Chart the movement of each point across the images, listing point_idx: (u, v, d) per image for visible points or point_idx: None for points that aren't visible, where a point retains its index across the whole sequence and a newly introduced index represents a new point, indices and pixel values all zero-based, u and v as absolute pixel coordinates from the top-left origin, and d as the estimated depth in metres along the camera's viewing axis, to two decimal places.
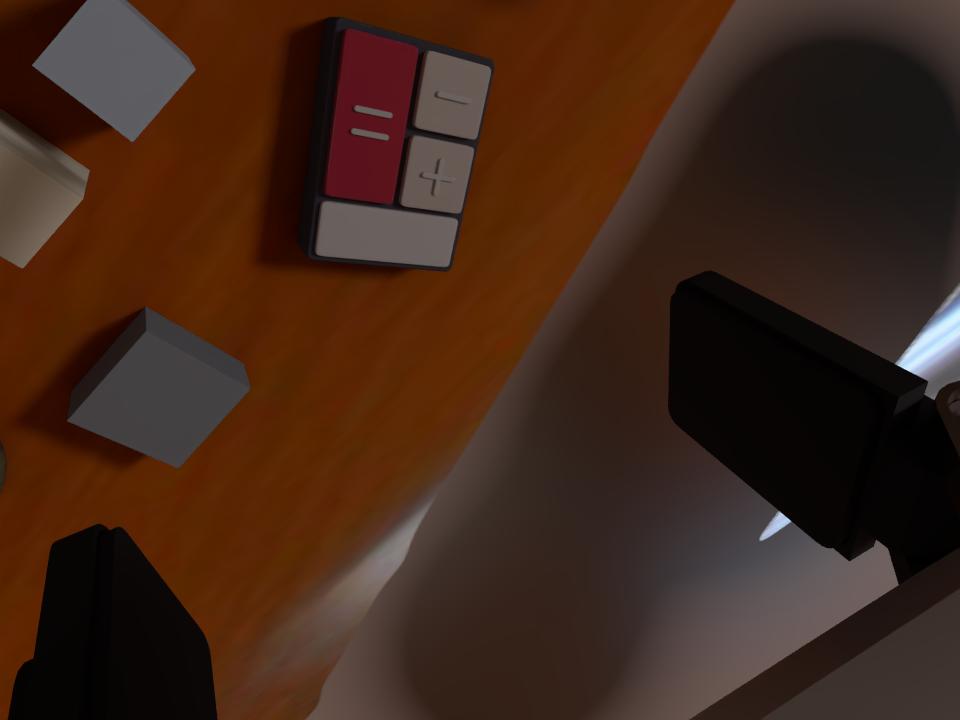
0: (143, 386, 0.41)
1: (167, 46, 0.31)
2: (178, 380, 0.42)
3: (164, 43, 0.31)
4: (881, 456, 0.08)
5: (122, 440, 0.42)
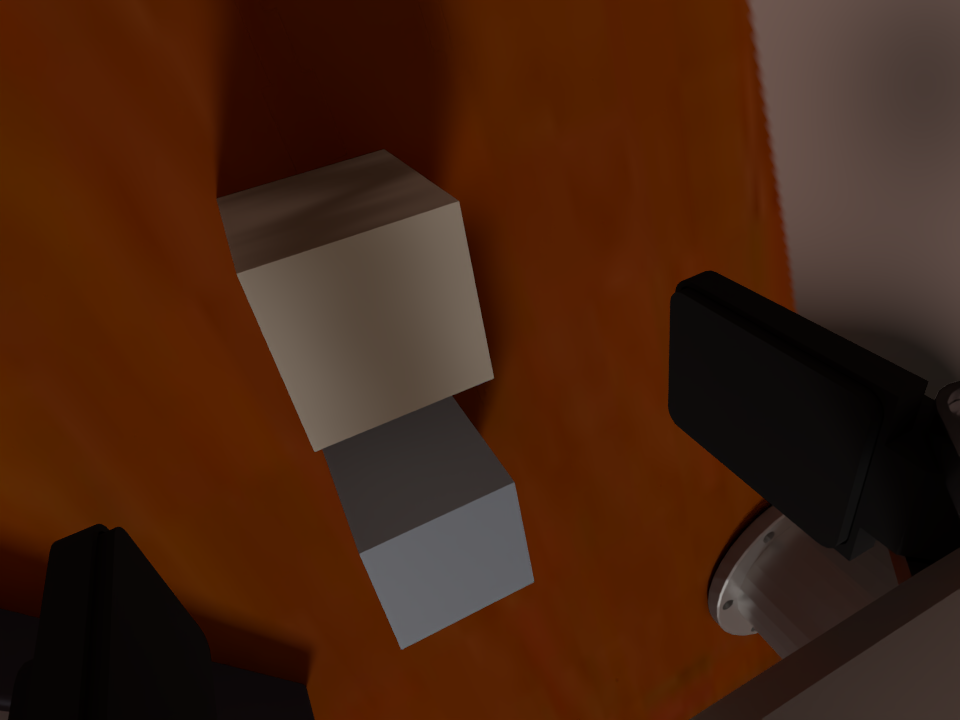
0: None
1: (443, 626, 0.21)
2: None
3: (447, 624, 0.21)
4: (881, 456, 0.08)
5: None
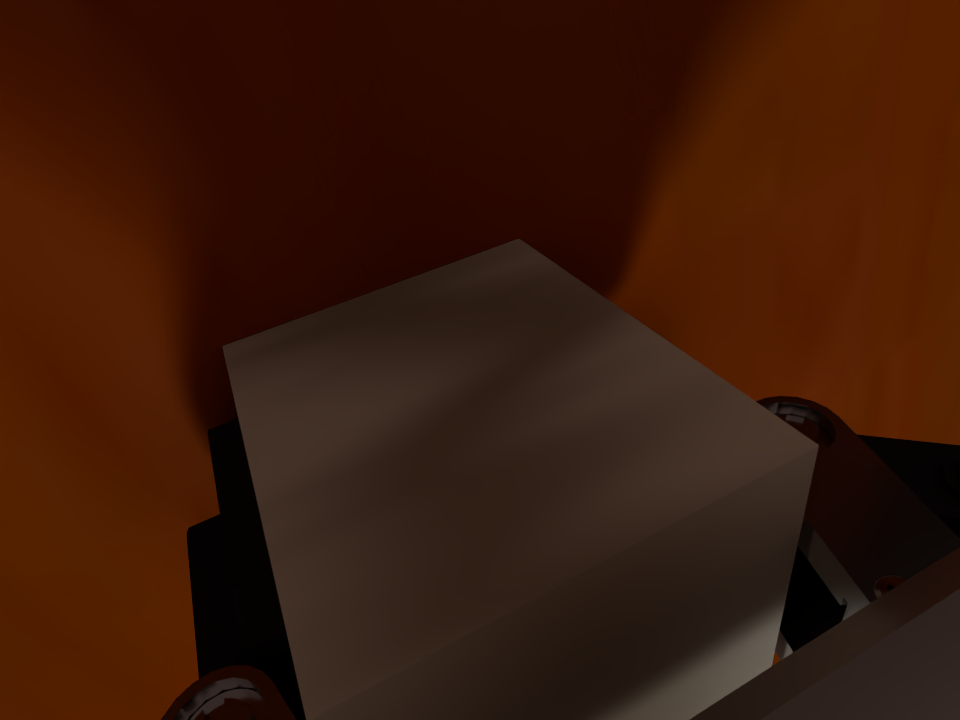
0: None
1: None
2: None
3: None
4: None
5: None
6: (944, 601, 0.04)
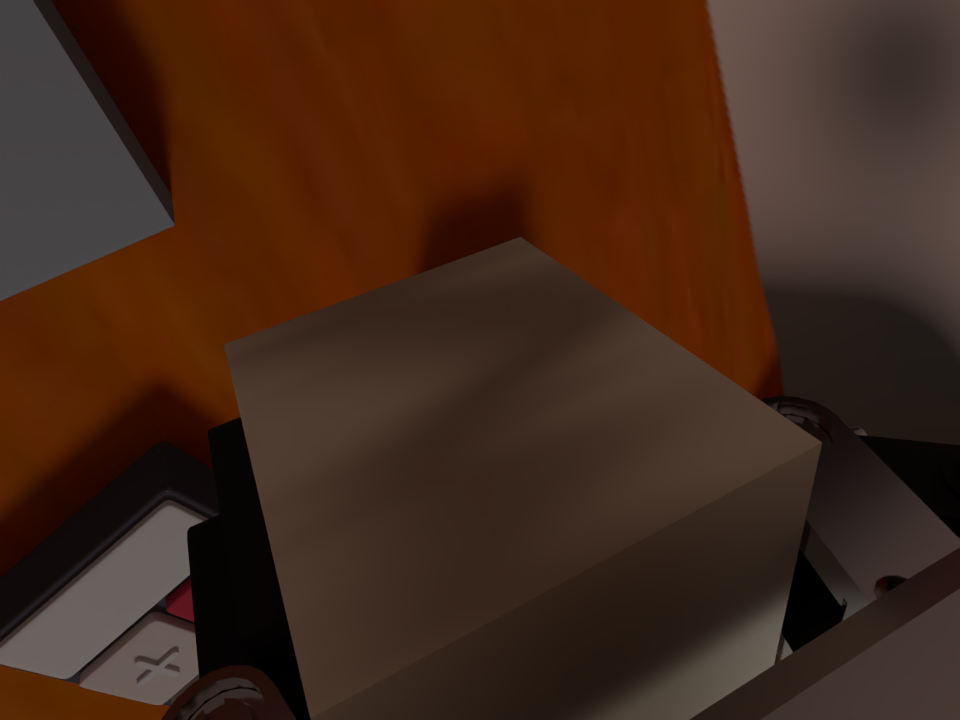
0: (38, 152, 0.18)
1: None
2: (23, 218, 0.19)
3: None
4: None
5: None
6: (944, 601, 0.04)
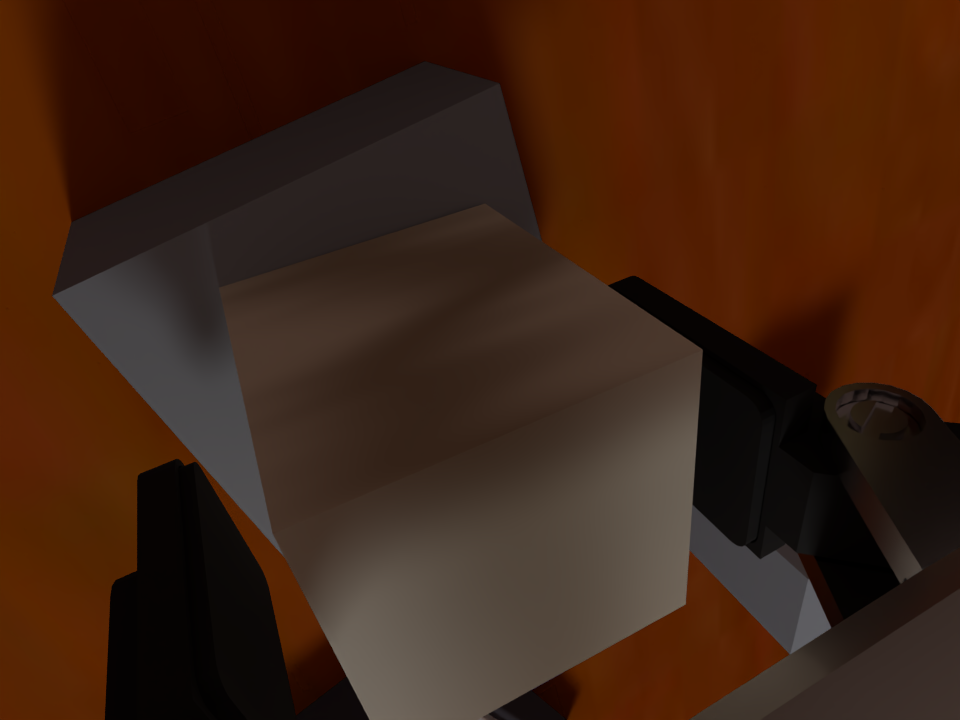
0: None
1: (819, 634, 0.25)
2: None
3: (822, 632, 0.25)
4: (777, 457, 0.08)
5: (324, 186, 0.10)
6: (944, 601, 0.04)
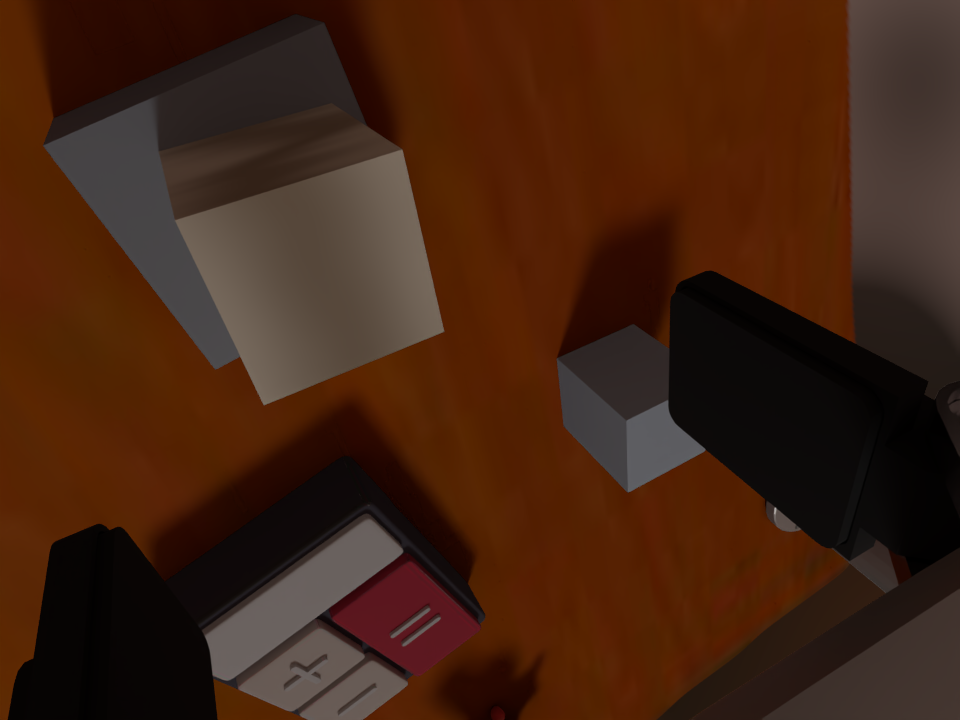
0: None
1: (652, 478, 0.32)
2: None
3: (654, 477, 0.32)
4: (881, 456, 0.08)
5: (211, 85, 0.17)
6: (944, 601, 0.04)
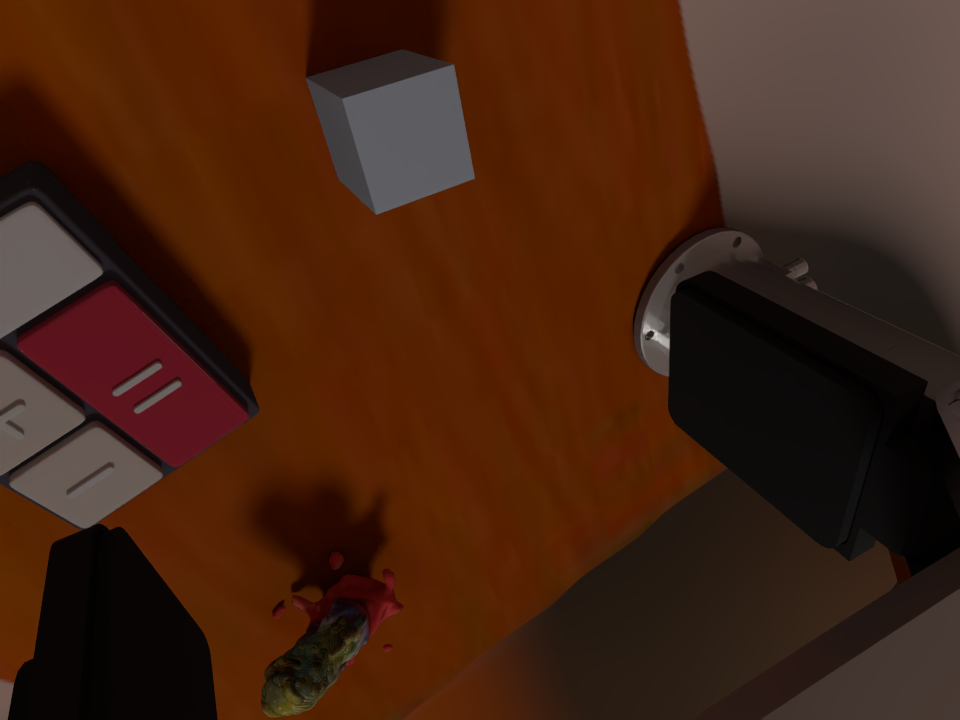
0: None
1: (406, 201, 0.28)
2: None
3: (410, 200, 0.28)
4: (881, 456, 0.08)
5: None
6: (944, 601, 0.04)
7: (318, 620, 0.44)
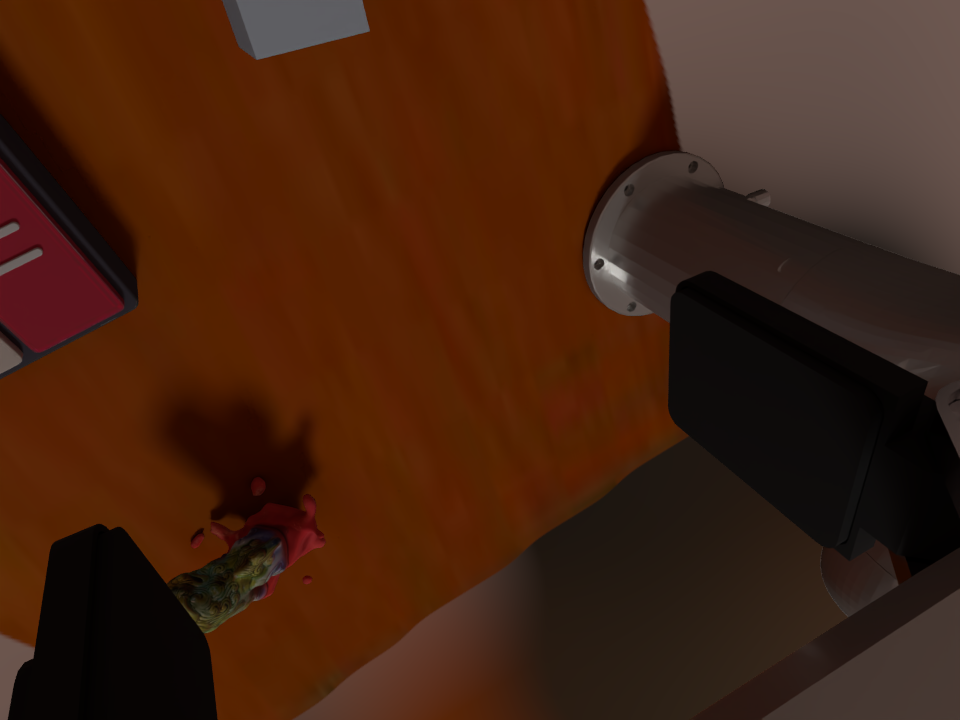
0: None
1: (291, 48, 0.26)
2: None
3: (295, 47, 0.26)
4: (881, 456, 0.08)
5: None
6: (944, 601, 0.04)
7: None
